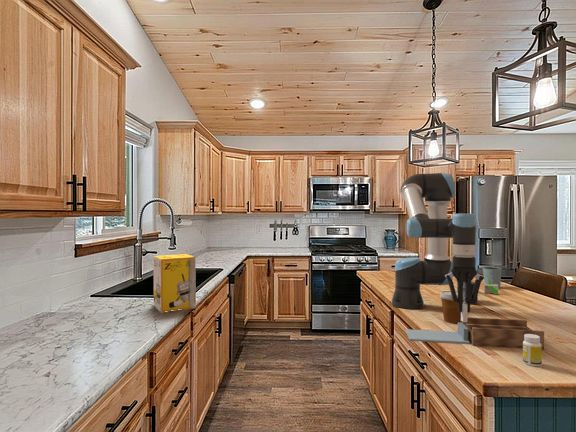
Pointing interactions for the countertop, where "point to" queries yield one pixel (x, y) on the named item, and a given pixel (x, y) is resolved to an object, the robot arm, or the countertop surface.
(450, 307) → the disposable coffee cup
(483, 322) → the box body
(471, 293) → the small box
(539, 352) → the supplement bottle
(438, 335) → the cover plate
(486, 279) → the drinking glass
